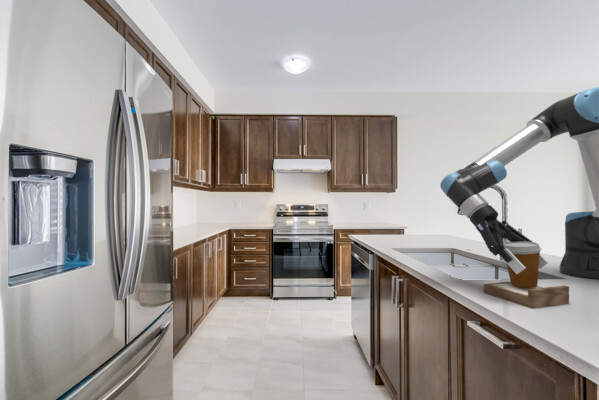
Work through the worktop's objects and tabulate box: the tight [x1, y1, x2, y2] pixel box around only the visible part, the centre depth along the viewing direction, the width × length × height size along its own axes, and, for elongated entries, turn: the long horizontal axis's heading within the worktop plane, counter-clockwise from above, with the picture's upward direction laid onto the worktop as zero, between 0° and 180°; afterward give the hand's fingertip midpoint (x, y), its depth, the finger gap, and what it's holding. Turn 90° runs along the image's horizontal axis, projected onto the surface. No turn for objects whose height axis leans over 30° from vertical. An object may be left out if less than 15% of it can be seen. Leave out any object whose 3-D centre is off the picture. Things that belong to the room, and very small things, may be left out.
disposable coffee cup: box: [503, 241, 542, 288], centre depth 95 cm, size 10×10×12 cm
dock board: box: [483, 281, 570, 309], centre depth 93 cm, size 13×15×4 cm
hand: (533, 268), depth 91 cm, fingers open, 13 cm apart
